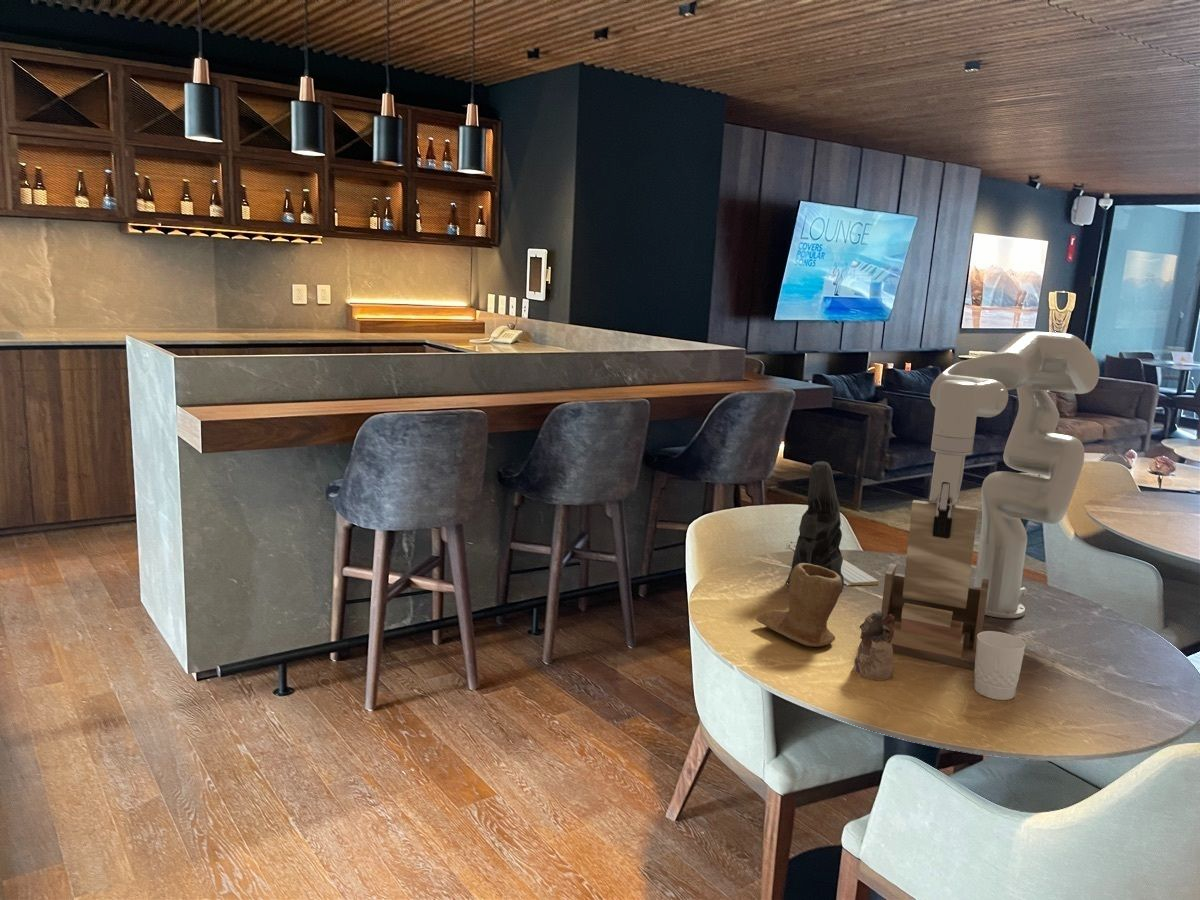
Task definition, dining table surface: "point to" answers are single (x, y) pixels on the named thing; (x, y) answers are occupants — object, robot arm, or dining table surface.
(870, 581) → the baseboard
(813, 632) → the clay boot figure
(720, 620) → the dining table surface
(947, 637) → the offcut bundle
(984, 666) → the white cup
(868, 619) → the figurine
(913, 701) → the dining table surface
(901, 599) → the walnut rack
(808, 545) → the dark tapered sculpture
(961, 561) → the birch sheet
